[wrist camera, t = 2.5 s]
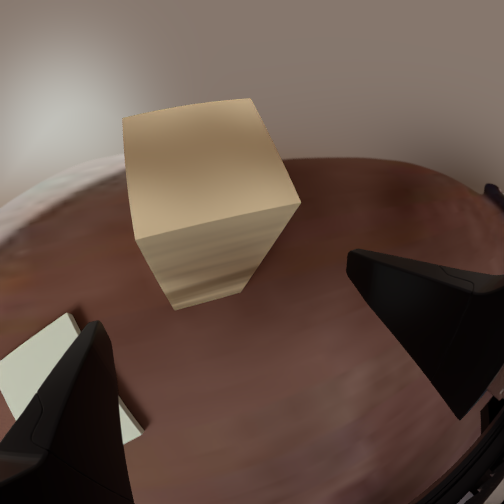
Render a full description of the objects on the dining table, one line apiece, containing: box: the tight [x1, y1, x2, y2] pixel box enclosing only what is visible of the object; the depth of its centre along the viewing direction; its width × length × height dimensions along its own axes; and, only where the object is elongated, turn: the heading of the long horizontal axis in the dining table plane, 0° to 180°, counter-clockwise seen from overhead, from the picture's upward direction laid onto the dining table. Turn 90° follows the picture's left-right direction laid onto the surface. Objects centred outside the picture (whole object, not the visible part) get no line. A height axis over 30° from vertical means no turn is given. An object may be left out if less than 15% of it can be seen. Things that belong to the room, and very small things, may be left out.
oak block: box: [122, 98, 301, 310], centre depth 14 cm, size 5×5×13 cm
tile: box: [0, 313, 144, 444], centre depth 14 cm, size 10×10×1 cm
